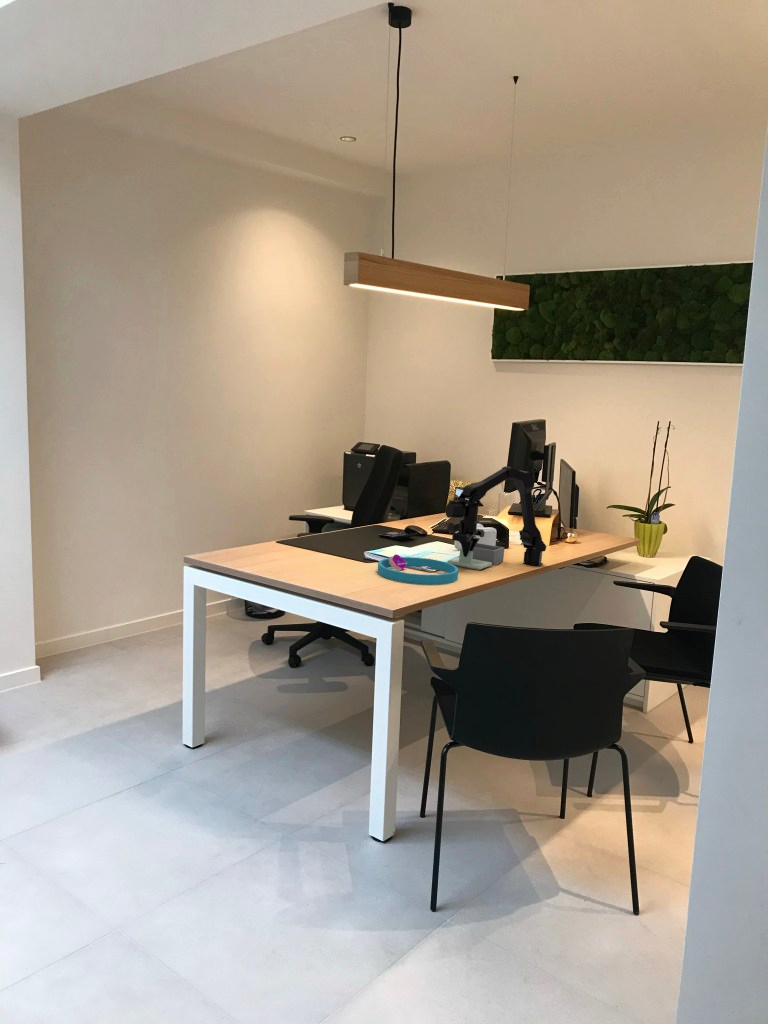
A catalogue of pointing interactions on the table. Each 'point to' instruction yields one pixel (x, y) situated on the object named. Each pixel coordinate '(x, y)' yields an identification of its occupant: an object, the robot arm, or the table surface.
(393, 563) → the teal ring
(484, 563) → the lid
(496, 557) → the parts tub
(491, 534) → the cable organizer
